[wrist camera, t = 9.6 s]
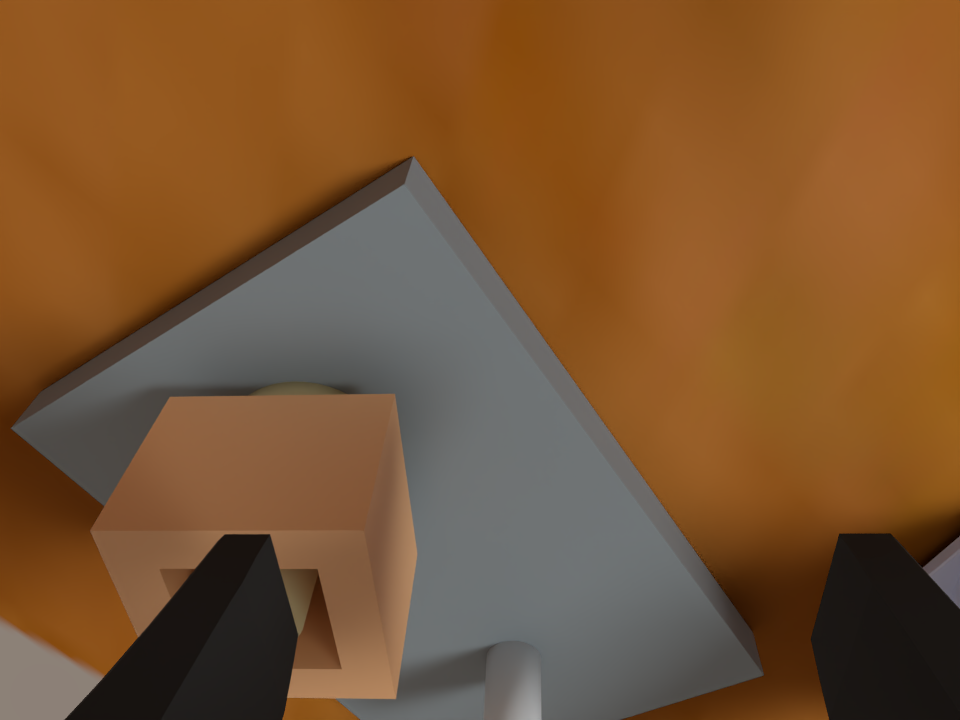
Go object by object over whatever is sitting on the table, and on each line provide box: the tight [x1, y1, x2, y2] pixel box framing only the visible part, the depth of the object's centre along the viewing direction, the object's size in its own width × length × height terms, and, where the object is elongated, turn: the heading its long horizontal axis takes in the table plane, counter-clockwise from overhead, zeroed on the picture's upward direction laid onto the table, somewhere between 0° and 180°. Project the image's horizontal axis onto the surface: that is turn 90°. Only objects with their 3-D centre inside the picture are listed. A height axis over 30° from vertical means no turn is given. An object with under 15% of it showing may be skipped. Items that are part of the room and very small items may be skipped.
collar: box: [90, 394, 417, 699], centre depth 18 cm, size 5×5×4 cm
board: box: [11, 156, 764, 720], centre depth 21 cm, size 18×12×6 cm, turn 33°
